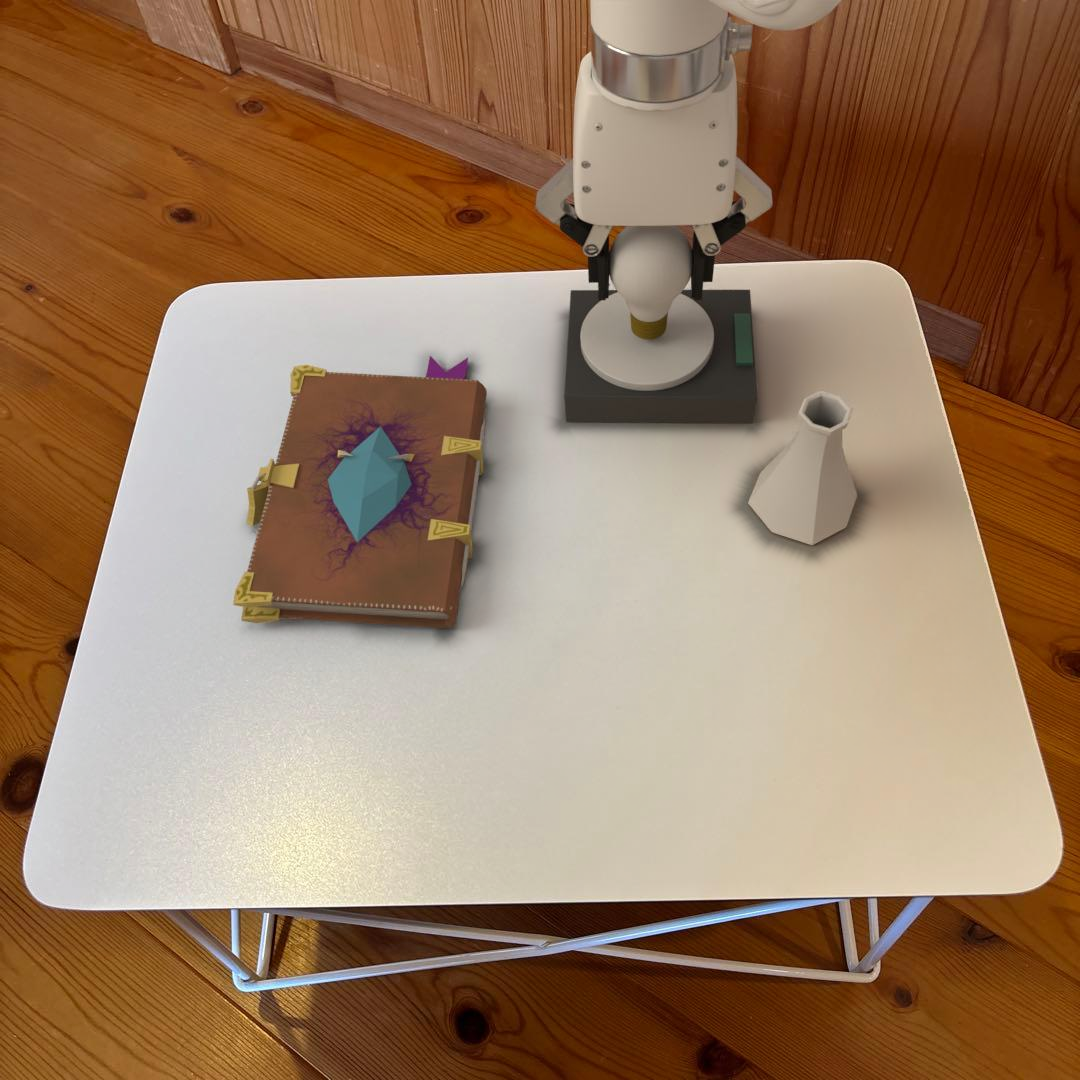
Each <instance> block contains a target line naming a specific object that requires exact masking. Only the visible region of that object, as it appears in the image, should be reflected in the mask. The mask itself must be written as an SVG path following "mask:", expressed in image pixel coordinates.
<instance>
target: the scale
mask: <svg viewBox="0 0 1080 1080" xmlns="http://www.w3.org/2000/svg"><path fill="white" fill-rule="evenodd" d="M630 316H631V315H630V311H629V309H628V307H627V303H626V300H625V299H624V297H622V296H621V295H620V294H619V292H618V291H617V290H616V289H609V298H606V300H598V289H571V290H570V297H569V311H568V329H567V345H566V346H567V347H566V359H565V360H566V361H565V377H564V378H565V379H564V394H563V397H564V398H563V399H564V413H565V416H564V417H565V422H566V423H634V424H635V423H637V424H638V423H639V424H640V423H642V424H643V423H647V424H649V423H650V424H651V423H652V424H653V423H659V424H662V423H664V424H753V423H754V419H755V413H756V409H757V402H758V386H757V384H758V383H757V371H756V357H755V343H754V342H755V341H754V327H753V312H752V298H751V290H750V289H703V291H702V300H694V298H691V289H684V290H683V291H682V292H681V293H680V294H679V295H678V296H677V297H676V298H675V299H674V300H673V302H672V305H671V307H670V310H669V311H668V318H667V326H666V331H665V332H664V334H663V335H661V336H660V337H658V338H656V339H650V340H647V339H642V338H639V337H637V336H636V335H635V334H634V333H633V332H632V329H631V317H630Z"/></svg>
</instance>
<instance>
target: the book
mask: <svg viewBox="0 0 1080 1080" xmlns="http://www.w3.org/2000/svg"><path fill="white" fill-rule="evenodd" d="M468 362H469V357H466V358H465V359H463V360H462V361H460V362H459V363H457V364H455V365H454V366H452V367H451V368H450V369H448V370H445V369H444V368H443V367H442V365H440V364H439V363H438V362H437V361H436V360H435V359H434V358H433V357H432V356H431V355H429V359H428V363H427V369H426V374H425V376H409V375H408V376H407V375H389V374H371V373H350V372H333V371H327V369H326V368H322V367H317V366H314V365H309V364H301V365H294V366H293V368H292V370H291V372H290V389H289V390H290V391H289V392H290V396H291V397H292V400H291V404H290V407H289V412H288V415H287V419H286V423H285V427H284V430H283V435H282V438H281V442H280V444H279V445H280V446H279V449H278V453H277V457H276V460H274V458H270V459H269V463H268V466H260V467H259V470H258V474H257V477H256V478H255V480H254V482H253V484H252V486H249V487H247V488H246V490H247V500H248V509H247V510H248V511H247V519H246V525H248V526H251V527H254V526H256V525H257V524H258V523H259V525H258V528H257V533H256V537H255V540H254V544H253V547H252V551H251V555H250V559H249V563H248V566H247V570H246V571H245V572H244V573H243V574H242V576H241V578H240V580H239V582H238V584H237V586H236V588H235V590H234V594H233V595H234V596H233V602H232V604H233V606H238V607H241V608H242V612H241V622H246V623H252V624H264V623H273V622H280V621H281V619H290V620H291V619H292V620H308V621H322V622H323V621H325V622H340V623H356V624H358V623H359V624H374V625H390V626H405V627H406V626H407V627H420V628H421V627H422V628H437V629H449V628H450V627H452V626H454V625H455V624H456V623H457V617H458V610H459V603H460V595H461V590H462V591H463V587H464V582H465V578H466V575H467V568H468V560H469V559H472V558H473V551H474V548H473V539H472V531H473V524H474V514H475V510H476V509H475V507H476V502H477V501H476V499H477V493H478V487H479V486H478V485H479V479H480V476H483V473H484V457H483V448H484V440H485V431H486V430H485V429H486V428H485V427H486V417H484V416H485V408H486V403H487V402H486V401H487V396H488V395H487V394H488V393H487V392H488V391H487V388H486V387H485V385H484V384H483V383H482V382H481V381H479V380H478V379H468V378H467V379H466V375H467V369H468ZM259 482H260V483H259Z"/></svg>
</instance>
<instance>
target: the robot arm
mask: <svg viewBox="0 0 1080 1080" xmlns="http://www.w3.org/2000/svg"><path fill="white" fill-rule="evenodd" d="M842 1H843V0H590V1H589V3H590V6H589V7H590V8H589V9H590V51H589V52H588V53H587V54H586V55H584V57H582V59H581V62H580V63H579V64H580V65H579V69H578V70H579V71H578V75H577V80H576V88H575V95H574V108H573V137H572V138H573V139H572V158H571V159H570V160H569V161H568V162H567V163H566V164H565V165H564V166H562V168H560V170H559V171H557V172H556V173H555V174H554V175H553V176H552V177H551V178H550V179H549V180H548V181H547V182H546V183H545V184H543V186H541V187H540V188H539V189H538V190H537V191H536V194H535V201H534V202H535V203H534V209H535V211H536V212H537V213H538V214H540V215H541V216H543V217H544V218H545V219H547V220H548V221H550V222H551V223H553V224H554V225H555V224H556V225H557V226H559V229H560V231H561V232H562V233H563V234H565V235H566V236H567V237H569V238H570V240H572V241H574V242H575V243H576V244H578V245H579V246H581V248H582V253H583V254H584V255H585V256H587V275H588V283H589V284H591V283H592V284H597V290H598V300H606V298H609V290H610V275H609V252H610V232H611V231H612V228H613V227H627V226H666V225H675V226H692V229H693V232H692V234H693V235H692V245H691V248H692V252H693V271H692V274H691V277H690V290H691V298H694V300H702V291H703V290H704V288H703V287H704V283H713V279H714V269H715V259H716V255H718V254H719V253H720V252H721V250H722V246H723V245H724V244H726V243H727V242H728V241H730V240H731V239H733V238H734V237H735V236H736V235H738V234H740V233H741V232H742V231H743V230H745V228H746V226H747V225H746V224H748V223H749V222H753V221H755V220H756V219H757V218H759V217H760V216H762V215H763V214H765V213H766V212H768V211H769V210H770V209H771V208H772V207H773V205H774V204H773V194H772V188H771V187H770V186H769V185H768V184H767V183H766V182H764V181H763V179H762V178H760V177H759V176H758V175H757V173H755V172H754V171H753V170H752V169H751V168H749V166H748V165H747V164H746V163H744V162H743V160H742V159H740V158H739V157H738V156H737V150H738V149H737V146H738V145H737V144H738V82H737V72H736V71H737V70H736V65H735V60H734V56H733V55H737V54H738V52H751V50H752V42H753V25H755V26H757V27H761V28H765V29H769V30H774V31H785V32H787V31H795V30H800V29H804V28H807V27H809V26H811V25H814V24H815V23H817V22H819V21H821V20H822V19H823V18H825V17H826V16H827V15H829V14H831V12H832V11H833V10H834V9H836V7H837V6H838V5H839V4H840V3H841V2H842ZM728 13H729V14H731V15H732V16H734V17H737V18H739V19H741V20H743V21H745V22H747V23H750V24H747V25H745V24H743V25H742V24H741V25H740V23H739V22H732V16H728ZM734 192H735V193H736V194H737V195H738V196H739V197H740V198H738V200H737V201H734ZM571 195H573V202H574V203H569V202H568V201H567V199H568V198H569V197H570V196H571Z"/></svg>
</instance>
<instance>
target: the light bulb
mask: <svg viewBox="0 0 1080 1080" xmlns="http://www.w3.org/2000/svg"><path fill="white" fill-rule="evenodd" d="M692 271H693V252H692V245H691V242H690V240H689V239H688V237H687V236H686V234H685V233H684V232H683V231H682V230H681V228H679V227H678V225H666V226H624V228H623V229H622V230H621V231H620V232H619V233H618V234H617V235H616V237H615V239H614V240H613V241H612V244H611V247H610V248H609V279H610V281H611V283H612V285H613V288H614V289H615V290H617V291H618V292H619V294H620V295H621V296H622V297H624V299H625V300H626V303H627V307H628V309H629V311H630V315H631V316H630V317H631V329H632V332H633V333H634V334H635V335H636V336H637V337H639V338H642V339H647V340H650V339H656V338H658V337H660V336H661V335H663V334H664V332H665V331H666V326H667V318H668V311H669V310H670V307H671V305H672V302H673V300H674V299H675V298H676V297H677V296H678V295H679V294H680V293H681V292H682V291H683V290H686V287H687V285H689V282H690V281H691V274H692Z"/></svg>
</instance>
